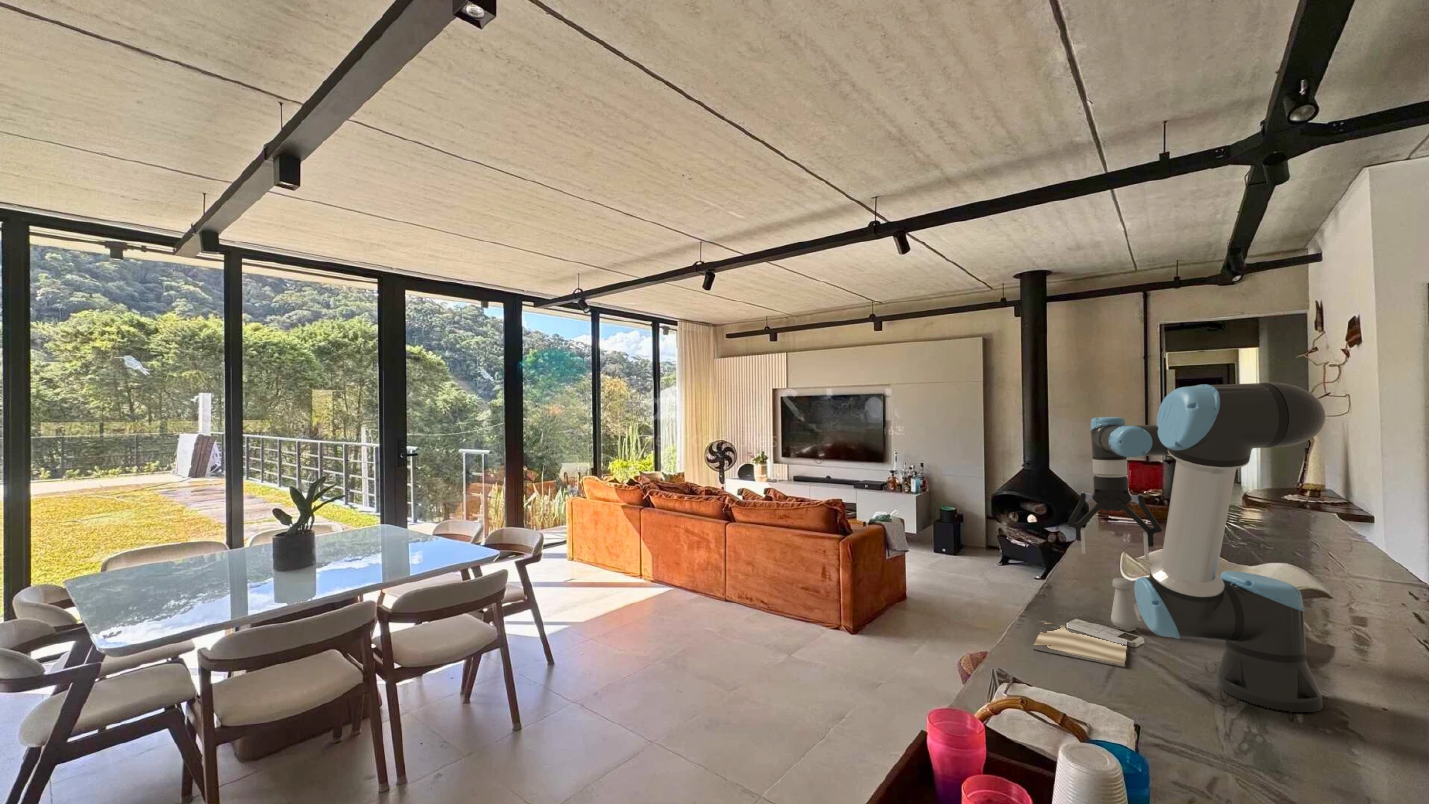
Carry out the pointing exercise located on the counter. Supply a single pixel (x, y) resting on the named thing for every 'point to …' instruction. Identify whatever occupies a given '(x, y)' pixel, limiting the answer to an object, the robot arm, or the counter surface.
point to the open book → (1083, 645)
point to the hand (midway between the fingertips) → (1114, 556)
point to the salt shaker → (1123, 605)
